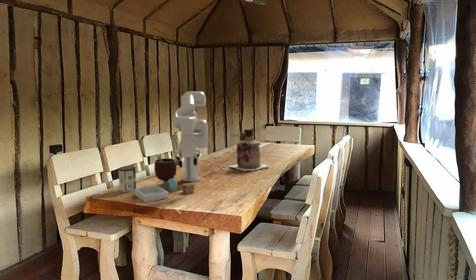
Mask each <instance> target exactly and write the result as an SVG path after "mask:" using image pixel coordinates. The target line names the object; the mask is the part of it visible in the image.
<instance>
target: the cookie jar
mask: <svg viewBox="0 0 476 280" xmlns="http://www.w3.org/2000/svg"><path fill="white" fill-rule="evenodd" d="M239 134H240V137H241V140H239V141H238V142H237V143H236V158H237V159H236V164H234V165H228V168H233V169H236V170H240V171H244V172H247V171H251V172H254V171H258V170H262V169H269V168H270V165H269V164H261V158H262V157H261V150H260V145H261V142H260V141H259V140H255V138H253V137H254V128H246V129H244V130H243V131H241V132H240V133H239Z"/></svg>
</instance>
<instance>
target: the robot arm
mask: <svg viewBox="0 0 476 280" xmlns="http://www.w3.org/2000/svg"><path fill="white" fill-rule="evenodd" d="M180 102H181V103H180V104H181V106H180V107H179V108H177V110H176V111H175V113H174V116H173V126H174V127H175V129H180V140H179V143H178V150H177V151H176V152H175V153H173V156H174V158H175V160H177V161H178V164H177V165H178V167H179V168H183V169H184V172H183V174H184V176H183V177H182V179H181V180H182V181H184V182H198V181H200V180H201V176H199V157H200V155H201V153H202V151H201V150H199V149H205V148H207V147H209V126H208V122H207V120H205V119H198V113H197V111H196V110H197V109H196V107H204V106H206V103H207V97H206V94H205V93H204V91H185V92H184V94H182V95H181V97H180ZM183 164H184V166H183Z"/></svg>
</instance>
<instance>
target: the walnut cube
mask: <svg viewBox="0 0 476 280" xmlns="http://www.w3.org/2000/svg"><path fill="white" fill-rule="evenodd" d="M182 192H183V193H184V194H186V195H187V194H193V193H195V184H193V183H191V182H187V183H183V184H182Z"/></svg>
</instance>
